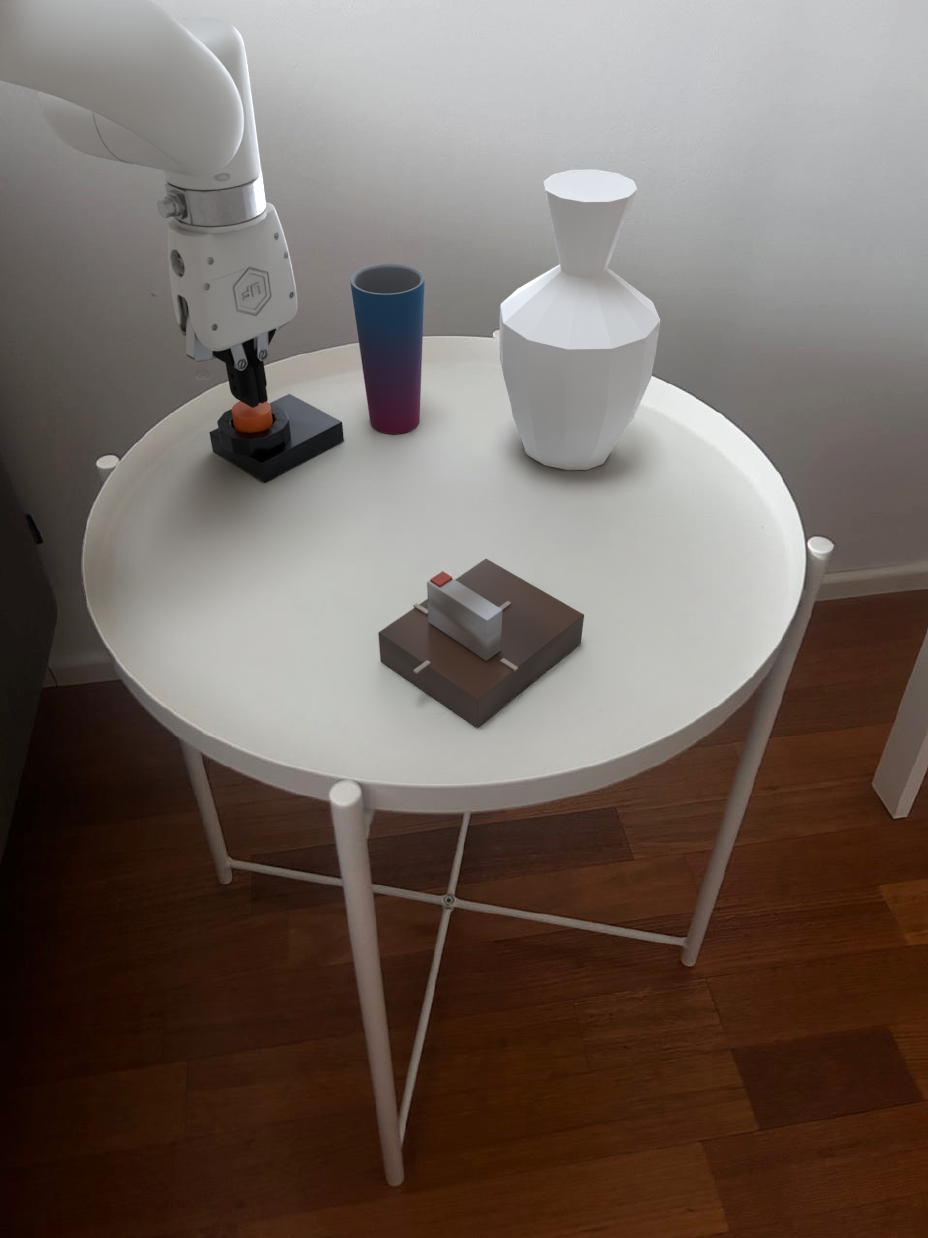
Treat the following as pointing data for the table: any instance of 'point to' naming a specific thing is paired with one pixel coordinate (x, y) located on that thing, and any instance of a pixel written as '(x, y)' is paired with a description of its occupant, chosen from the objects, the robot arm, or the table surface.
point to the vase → (578, 330)
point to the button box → (278, 439)
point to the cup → (390, 342)
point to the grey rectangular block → (464, 615)
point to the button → (252, 417)
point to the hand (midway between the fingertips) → (250, 399)
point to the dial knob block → (462, 678)
